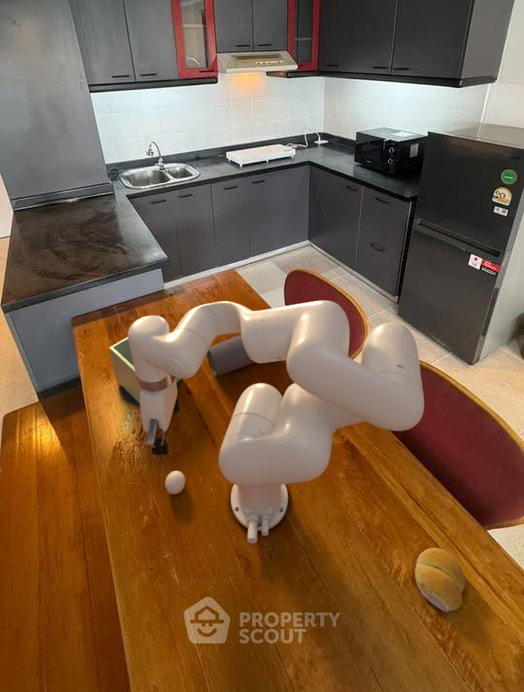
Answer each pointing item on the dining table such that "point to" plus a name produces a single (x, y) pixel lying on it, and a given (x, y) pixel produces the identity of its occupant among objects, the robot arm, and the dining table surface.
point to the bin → (126, 367)
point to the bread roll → (440, 579)
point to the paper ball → (175, 482)
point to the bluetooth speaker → (228, 356)
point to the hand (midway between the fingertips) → (166, 431)
